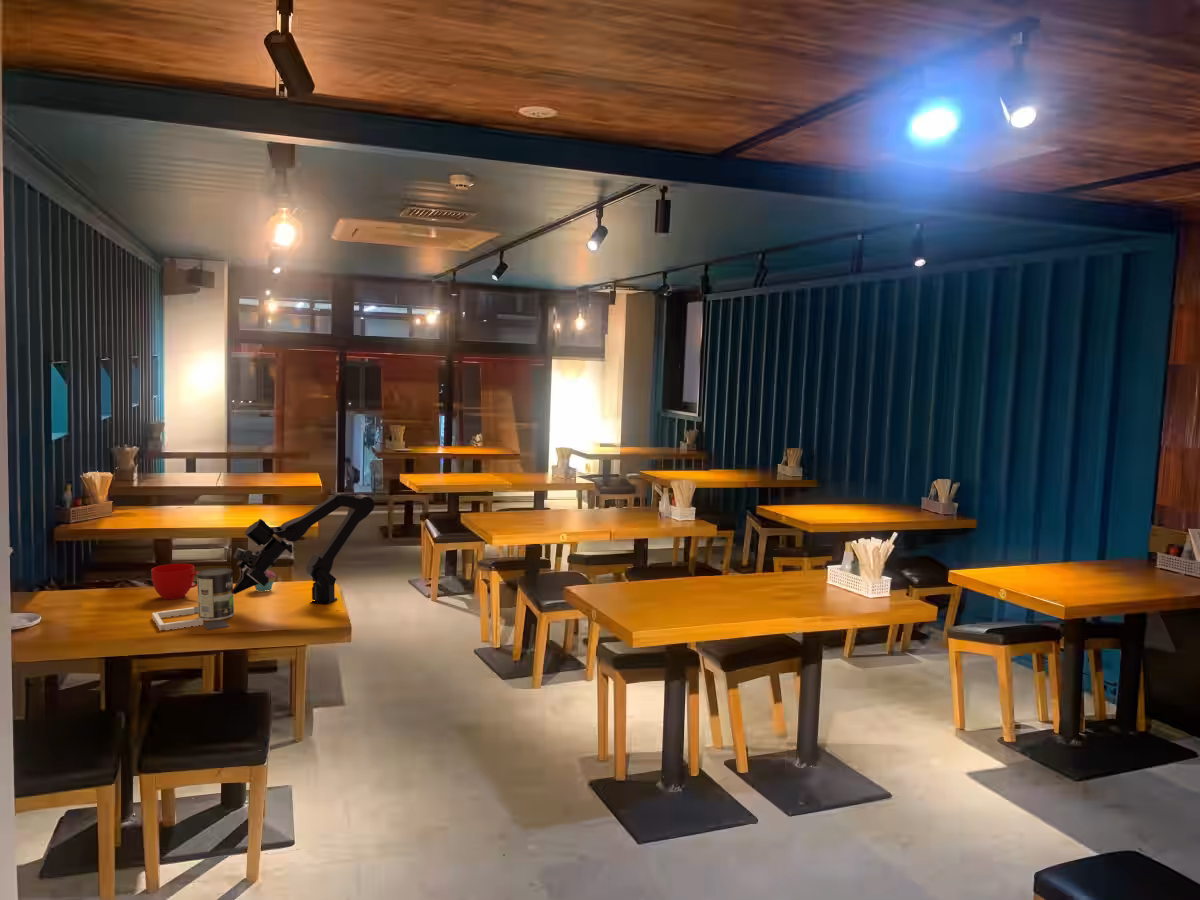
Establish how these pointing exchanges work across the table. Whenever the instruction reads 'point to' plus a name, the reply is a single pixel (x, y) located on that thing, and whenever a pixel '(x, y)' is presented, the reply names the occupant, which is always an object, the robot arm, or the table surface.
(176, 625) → the dock
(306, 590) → the table surface
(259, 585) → the cupcake
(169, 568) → the ceramic cup
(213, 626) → the pair of grey pads
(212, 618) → the coffee can
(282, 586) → the table surface
